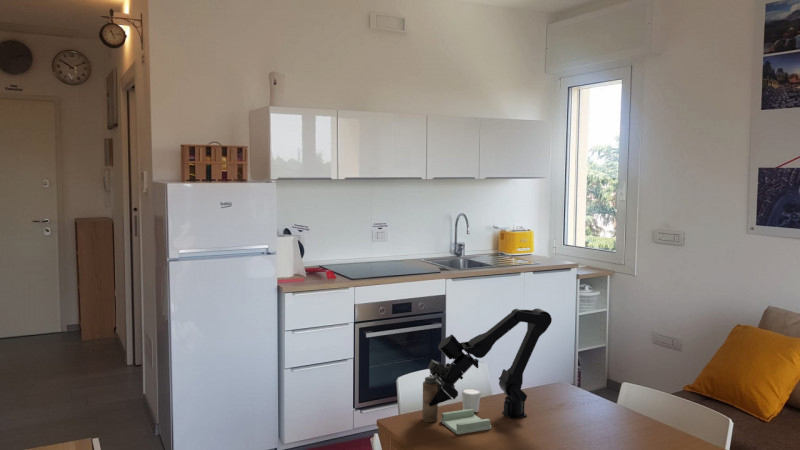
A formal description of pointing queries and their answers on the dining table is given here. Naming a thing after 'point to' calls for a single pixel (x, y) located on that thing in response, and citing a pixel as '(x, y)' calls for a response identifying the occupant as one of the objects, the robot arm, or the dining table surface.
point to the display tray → (464, 421)
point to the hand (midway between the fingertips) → (426, 400)
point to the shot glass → (471, 399)
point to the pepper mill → (429, 399)
